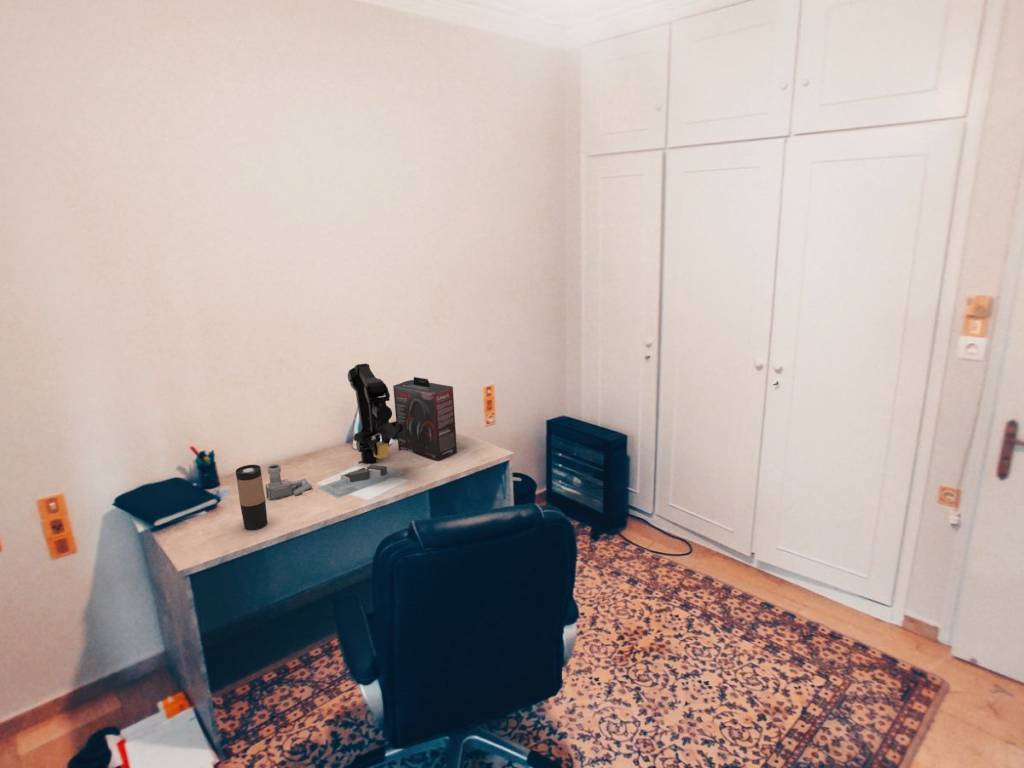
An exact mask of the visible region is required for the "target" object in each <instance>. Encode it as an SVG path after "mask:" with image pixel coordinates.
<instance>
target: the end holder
mask: <svg viewBox="0 0 1024 768" xmlns="http://www.w3.org/2000/svg"><path fill="white" fill-rule="evenodd" d="M337 481H338V480H337ZM334 482H335V481H334ZM343 485H345V480H341V481H338V482H335V483H333V484H330V485H327V486H326V490H327V491H329V492H331V493H333V494H335V495H336V496H341V495H344V494H346V493H349V492H352V491H354V490H356V487H355V485H352V486H350V487H347V488H344V489H341V490H337V489H335V488H337V487H340V486H343Z"/></svg>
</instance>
